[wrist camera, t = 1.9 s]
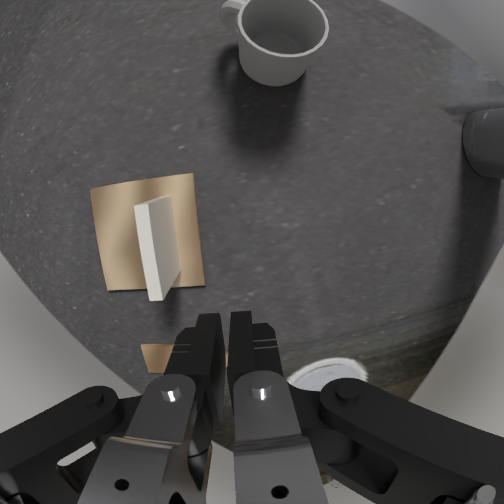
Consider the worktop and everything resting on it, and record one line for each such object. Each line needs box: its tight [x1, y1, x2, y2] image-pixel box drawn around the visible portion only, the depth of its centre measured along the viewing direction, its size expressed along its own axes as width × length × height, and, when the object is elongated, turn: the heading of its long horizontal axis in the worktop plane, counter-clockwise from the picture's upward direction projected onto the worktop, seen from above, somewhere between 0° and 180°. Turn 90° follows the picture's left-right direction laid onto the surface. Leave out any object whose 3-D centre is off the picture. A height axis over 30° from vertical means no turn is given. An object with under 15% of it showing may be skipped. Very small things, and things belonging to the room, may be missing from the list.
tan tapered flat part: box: [141, 344, 228, 373], centre depth 34 cm, size 13×4×1 cm, turn 94°
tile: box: [134, 195, 181, 301], centre depth 26 cm, size 1×8×8 cm, turn 4°
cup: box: [220, 0, 329, 86], centre depth 21 cm, size 7×10×9 cm
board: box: [90, 173, 206, 290], centre depth 30 cm, size 12×12×1 cm
